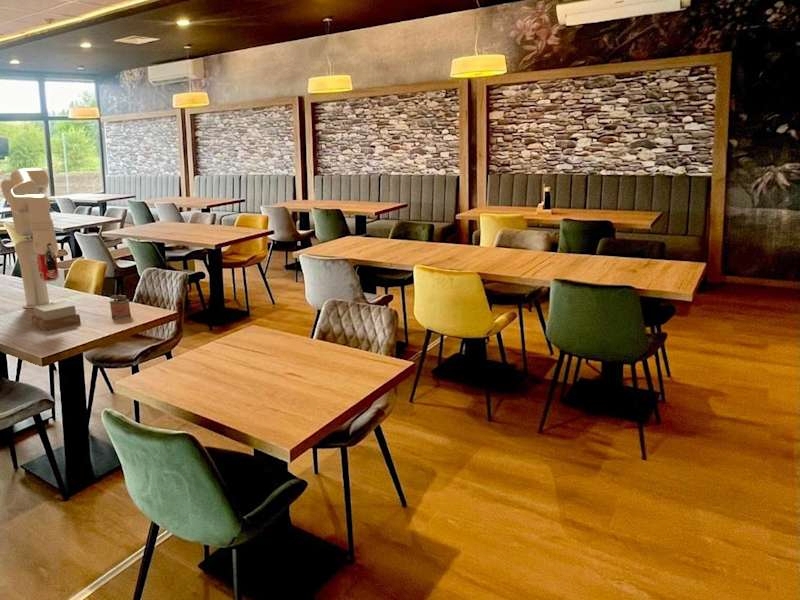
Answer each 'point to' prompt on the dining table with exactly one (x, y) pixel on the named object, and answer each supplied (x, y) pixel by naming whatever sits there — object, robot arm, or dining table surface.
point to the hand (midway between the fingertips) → (48, 268)
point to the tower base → (56, 322)
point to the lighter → (120, 307)
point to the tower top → (54, 310)
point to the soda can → (43, 270)
